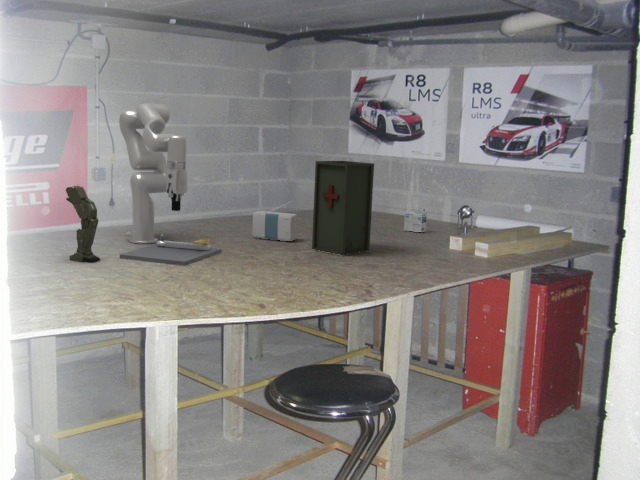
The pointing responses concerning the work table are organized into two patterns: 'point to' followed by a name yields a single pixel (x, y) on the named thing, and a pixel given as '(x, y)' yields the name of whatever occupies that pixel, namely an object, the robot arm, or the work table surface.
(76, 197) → the mechanical leg
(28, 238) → the work table surface
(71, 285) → the work table surface
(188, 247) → the link
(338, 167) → the first aid box
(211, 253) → the base plate
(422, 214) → the light bulb box
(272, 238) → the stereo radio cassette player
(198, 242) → the strip
